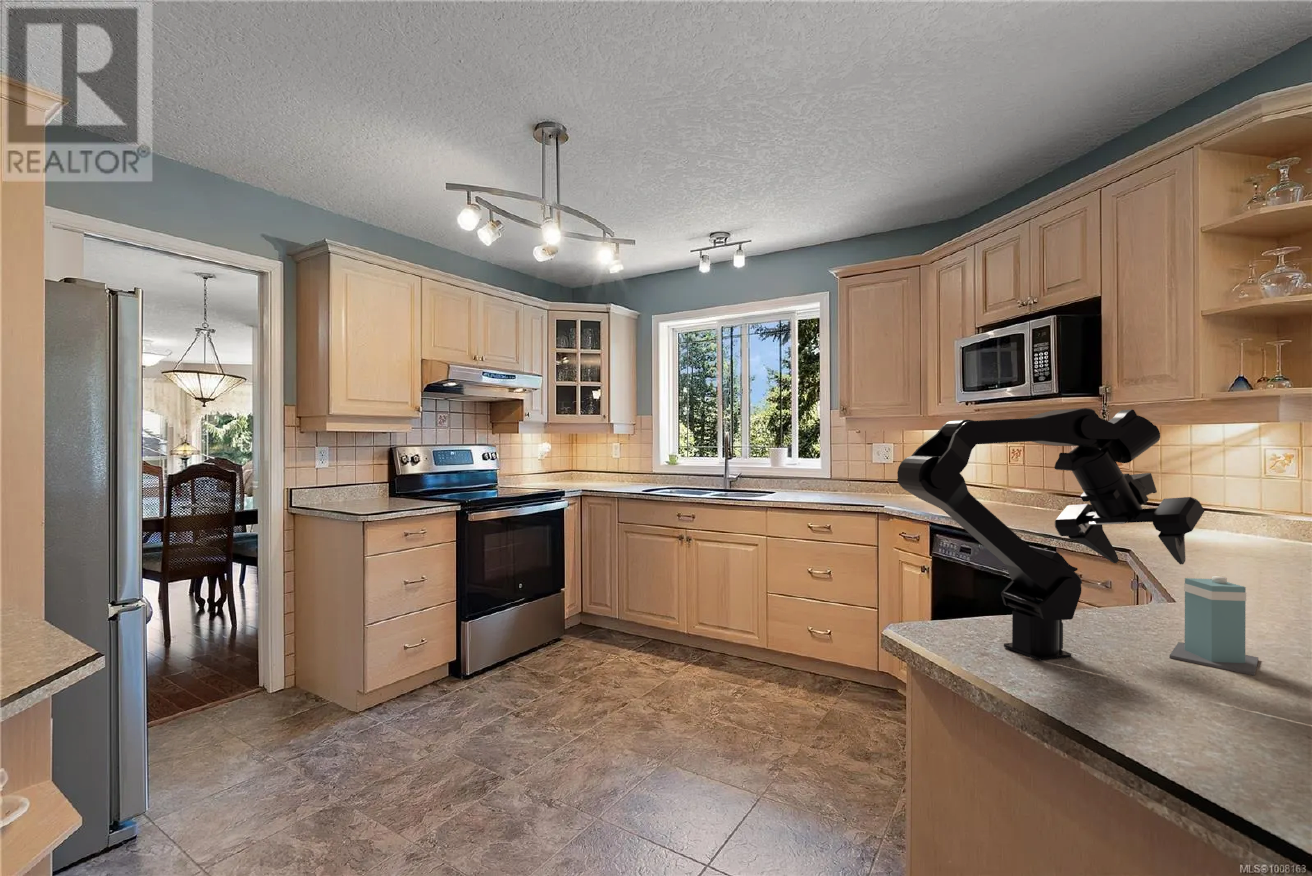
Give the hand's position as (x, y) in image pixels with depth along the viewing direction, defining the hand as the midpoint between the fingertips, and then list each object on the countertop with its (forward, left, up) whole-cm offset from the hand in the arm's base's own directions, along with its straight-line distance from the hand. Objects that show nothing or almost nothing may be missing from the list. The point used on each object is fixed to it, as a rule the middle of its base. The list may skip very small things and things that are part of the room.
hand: (1148, 562), depth 95 cm
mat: (+4, -7, -13) cm, 15 cm away
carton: (+4, -7, -13) cm, 15 cm away
